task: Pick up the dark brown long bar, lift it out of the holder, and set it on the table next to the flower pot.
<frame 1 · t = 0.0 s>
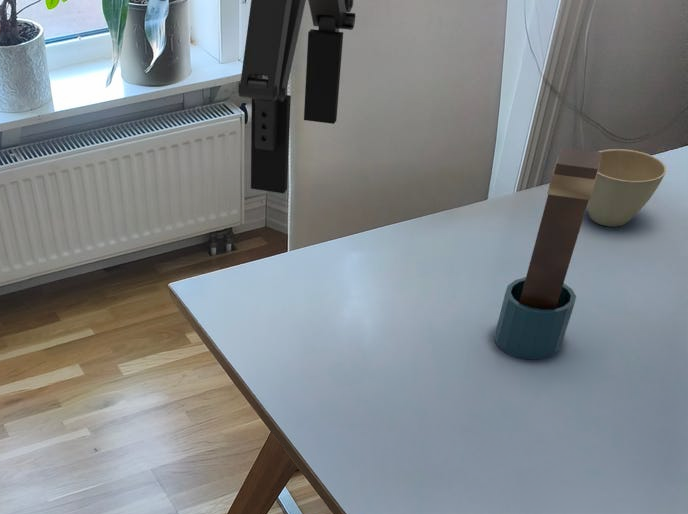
hand: (295, 153, 72), 29 cm above the table, tool pointing down, fingers open, 13 cm apart
flower pot: (608, 219, 122), on the table
holder: (527, 341, 104), on the table
dark brown long bar: (528, 336, 104), point 1 cm above the table, touching holder
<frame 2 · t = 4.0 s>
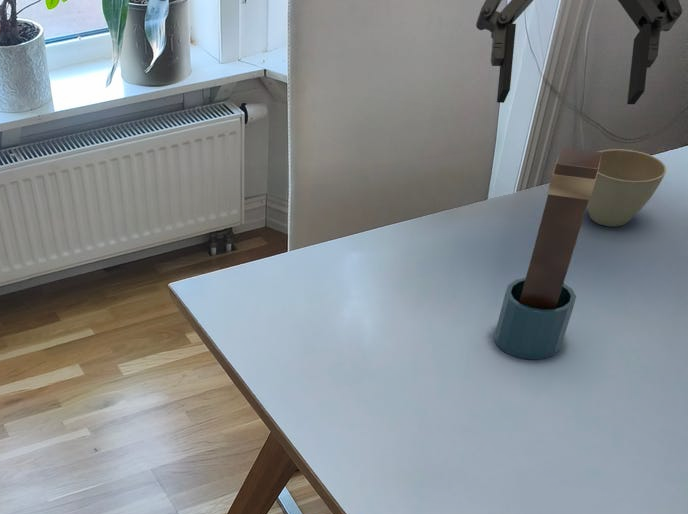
hand: (568, 97, 93), 22 cm above the table, tool tilted 45°, fingers open, 13 cm apart
nothing on the table moved.
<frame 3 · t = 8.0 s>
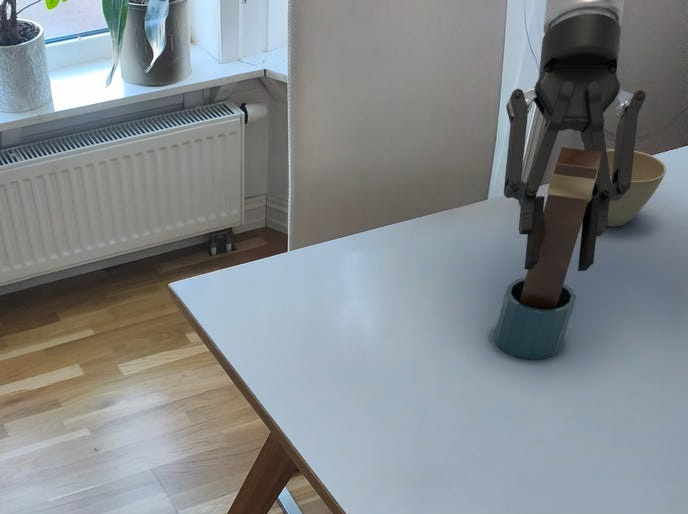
hand: (558, 265, 93), 11 cm above the table, tool tilted 45°, fingers closed on dark brown long bar, 5 cm apart
dark brown long bar: (528, 336, 104), point 1 cm above the table, touching gripper, holder
everything else where it was.
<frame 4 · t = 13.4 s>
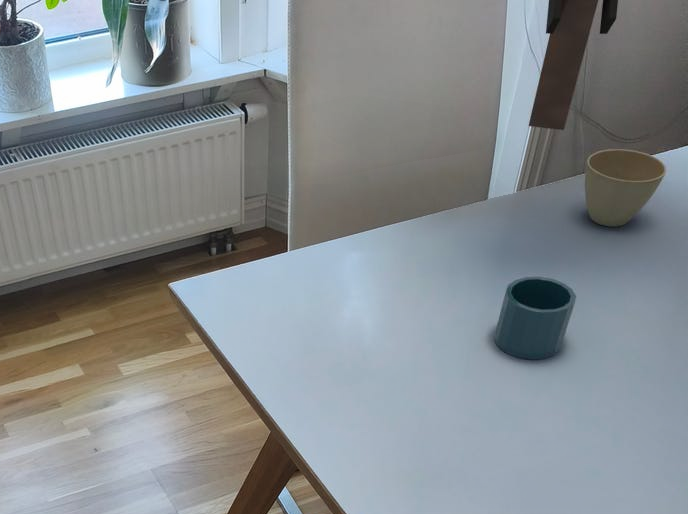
hand: (580, 25, 92), 27 cm above the table, tool tilted 45°, fingers closed on dark brown long bar, 5 cm apart
dark brown long bar: (548, 121, 103), point 17 cm above the table, touching gripper
everything else where it was.
when the fingers open (11 cm above the table, at t = 18.9 s): dark brown long bar stays where it is, on the table.
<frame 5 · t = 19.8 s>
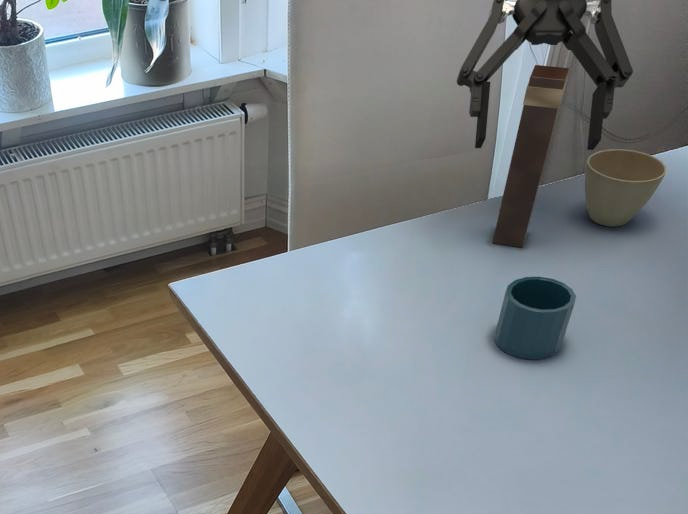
hand: (536, 144, 108), 13 cm above the table, tool tilted 45°, fingers open, 13 cm apart
dark brown long bar: (509, 238, 119), on the table
everything else where it was.
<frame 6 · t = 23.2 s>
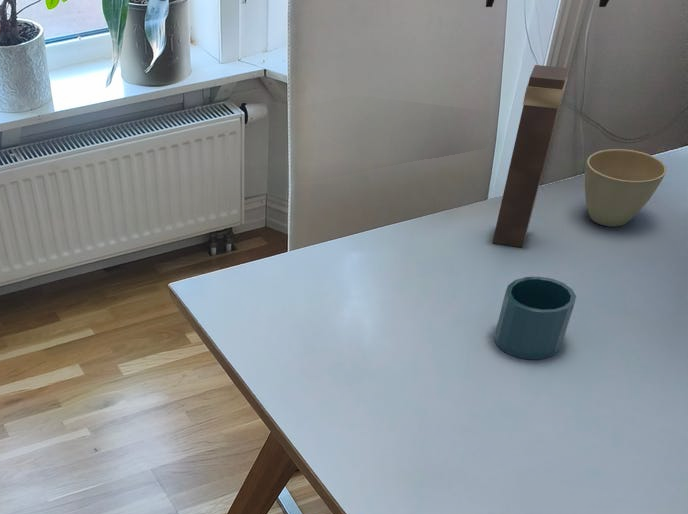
hand: (548, 0, 107), 24 cm above the table, tool tilted 45°, fingers open, 13 cm apart
nothing on the table moved.
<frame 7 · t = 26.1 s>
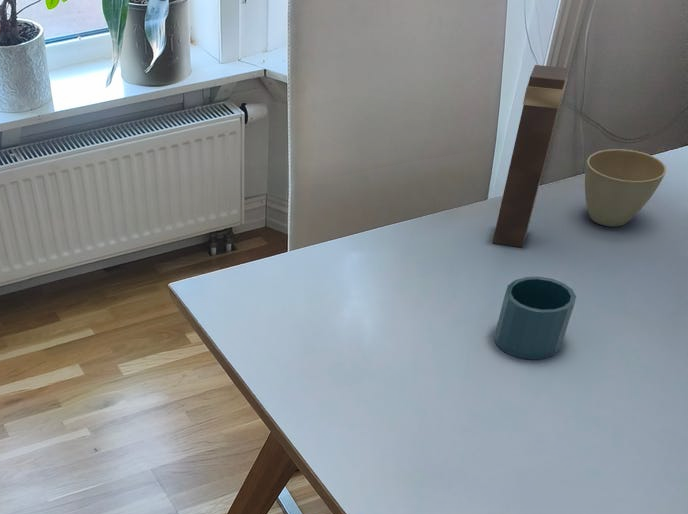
nothing on the table moved.
at the end: dark brown long bar inside the target area on the table beside the flower pot (0.1 cm from its centre), on the table; dark brown long bar tilted 0°; the gripper is holding nothing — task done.
